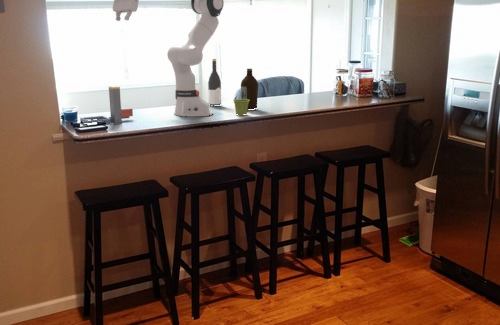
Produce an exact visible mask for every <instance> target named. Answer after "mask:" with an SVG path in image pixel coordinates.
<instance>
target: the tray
mask: <svg viewBox="0 0 500 325" xmlns="http://www.w3.org/2000/svg"><path fill="white" fill-rule="evenodd" d="M86 119H97V120H91V121H88V120H86ZM80 120H81V121H84V122H86V123H92V122H98V121H105V122H106V124H105V125H108V124H110V125H111V124H112V123H111V119H110V118H109V117H106V116H104V115H99V116H88V117H80ZM81 121H80V122H81Z"/></svg>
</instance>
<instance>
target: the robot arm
mask: <svg viewBox="0 0 500 325" xmlns="http://www.w3.org/2000/svg"><path fill="white" fill-rule="evenodd" d="M138 7H139V0H113V4H112V11H113V12H114V13H115V20H116V21H117V22H120V21H121V14H123V13H124V14H125V13H126V14H125V16H124V20H125V21H129V20H130V18H131V16H132V14H133V13H135V12H137V11H138ZM190 7H191V9H192V11H193V12H194V13H195V14H197V15H201V16H200V17H199V18H200V19H199V20H198V21H197V22H196V24H194V26H193V27H192V29H191V30H190V32H189V33H188V35H187V36H188V40H187V42H186V43H185V44H182V45H181V44H177V45H173V46H171V47H170V48H168V51H167V59H168V61H169V62H170V63H171V65H172V68H173V72H174V76H175V93H174V94H175V95H174V96H175V97H174V98H175V107H174V113H173V114H174V115H175V116H179V117H184V118H185V116H187V117H210V116H213V115H214V112H213V111H212V110H210V106H209V102H207V101H206V100H204V99H203V98H202V97H201V96H200V91H199V90H198V89H196V76H195V74H194V72H193V71H192V68H191V66H197V65H199V64H201V62H202V61H203V58H204V56H203V55H204V54H203V50H204V49H205V46H206V45H207V43H208V42H209V40H210V39H211V38H212V36H213V35H214V33H215V32H216V30H217V28H218V26H219V18H218V17H219V16H220V15H221V12H222V11H223V8H224V0H190ZM212 114H213V115H212ZM209 115H210V116H209Z"/></svg>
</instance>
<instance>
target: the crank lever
mask: <svg viewBox="0 0 500 325" xmlns="http://www.w3.org/2000/svg"><path fill="white" fill-rule="evenodd" d="M133 113H134V112H133V108H123V109H122V108H121V116H122V120H125V119H130V117H133V116H134V114H133ZM108 118H110V119H111V116H109V117H108Z"/></svg>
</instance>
